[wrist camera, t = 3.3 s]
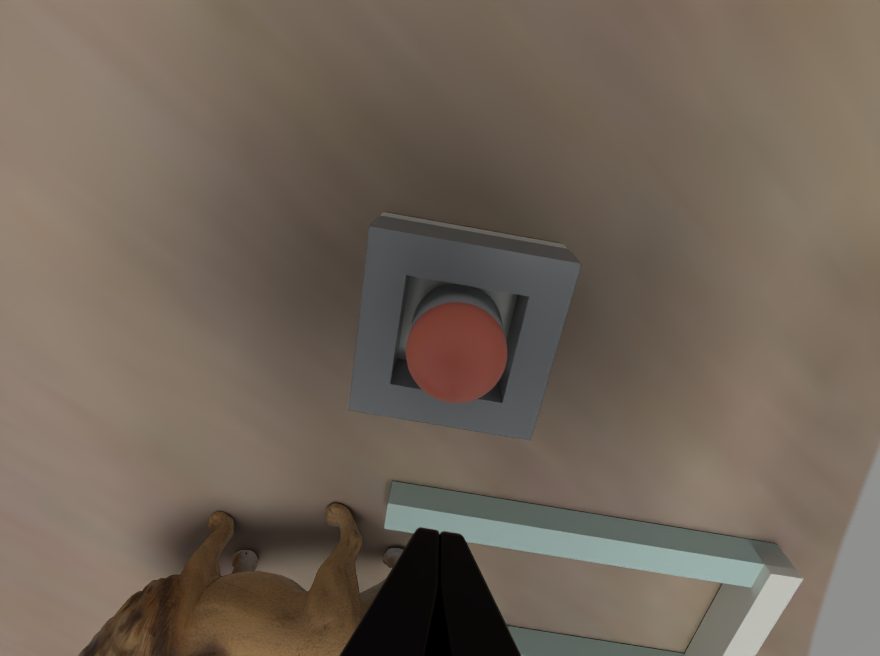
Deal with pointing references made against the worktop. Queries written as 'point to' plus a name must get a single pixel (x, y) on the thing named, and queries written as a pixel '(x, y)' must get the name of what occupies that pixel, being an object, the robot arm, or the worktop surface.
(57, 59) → the worktop surface
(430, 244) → the button housing
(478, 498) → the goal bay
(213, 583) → the lion figurine
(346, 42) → the worktop surface
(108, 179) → the worktop surface
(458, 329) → the dome plunger
